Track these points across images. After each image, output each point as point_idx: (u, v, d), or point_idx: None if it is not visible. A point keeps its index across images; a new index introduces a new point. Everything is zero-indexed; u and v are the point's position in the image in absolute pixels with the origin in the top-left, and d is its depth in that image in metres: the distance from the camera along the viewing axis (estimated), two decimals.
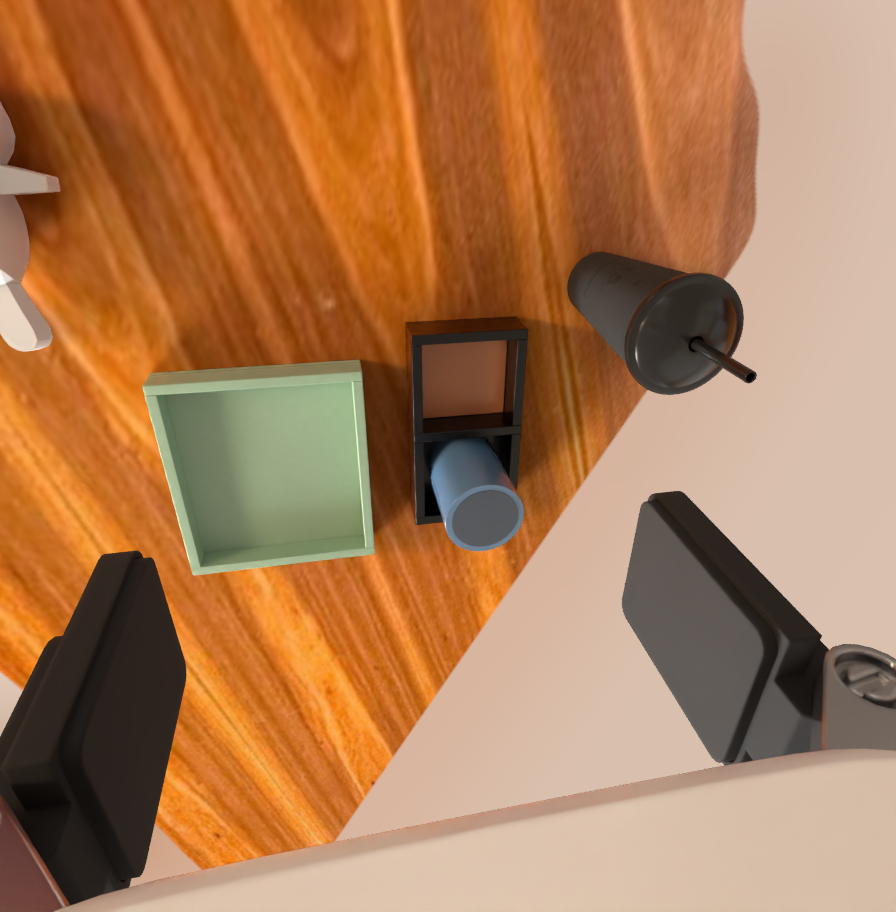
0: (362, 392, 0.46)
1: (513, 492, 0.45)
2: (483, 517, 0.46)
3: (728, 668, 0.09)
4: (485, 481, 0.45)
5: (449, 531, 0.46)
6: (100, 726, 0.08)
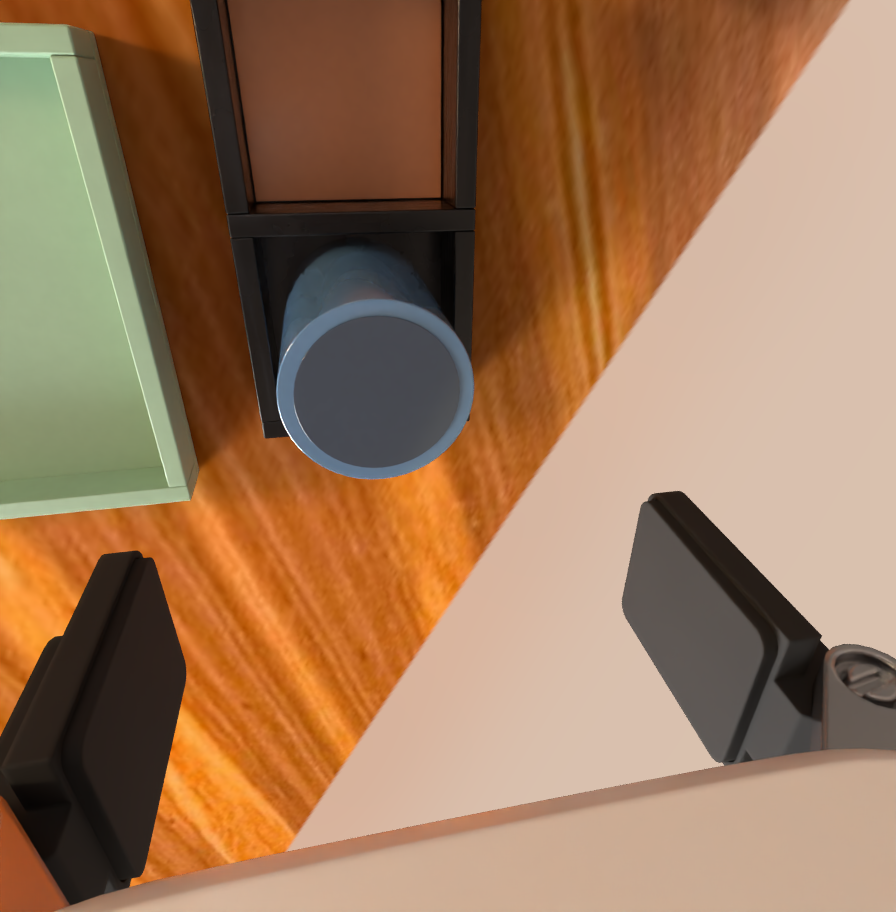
0: (83, 91, 0.19)
1: (445, 325, 0.18)
2: (373, 392, 0.19)
3: (728, 668, 0.09)
4: (371, 294, 0.18)
5: (291, 426, 0.19)
6: (100, 726, 0.08)
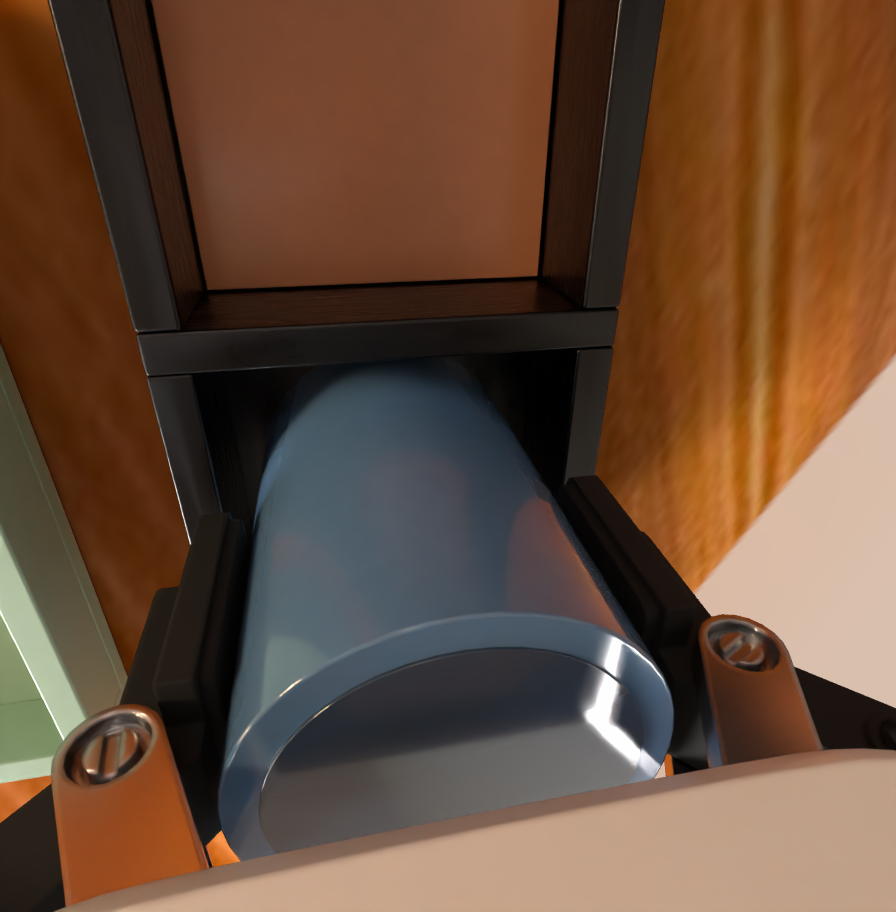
0: None
1: (631, 648, 0.07)
2: (450, 780, 0.08)
3: None
4: (456, 590, 0.07)
5: None
6: (223, 657, 0.09)
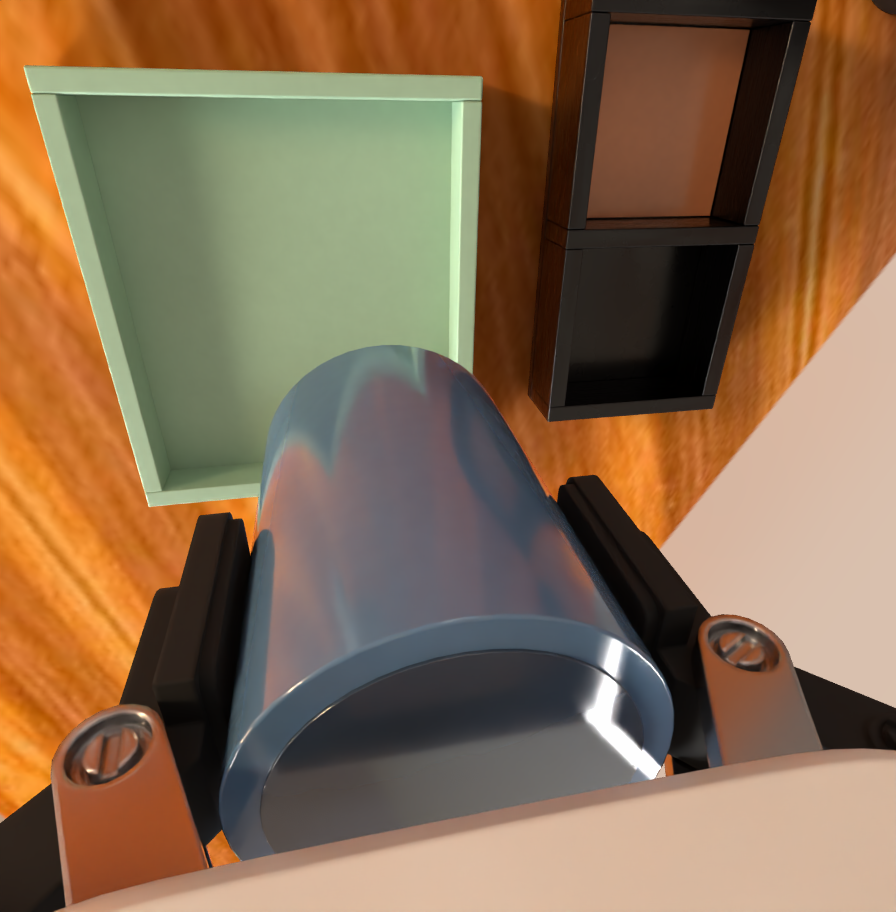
0: (479, 128, 0.23)
1: (631, 650, 0.07)
2: (451, 781, 0.08)
3: None
4: (458, 593, 0.07)
5: None
6: (223, 657, 0.09)
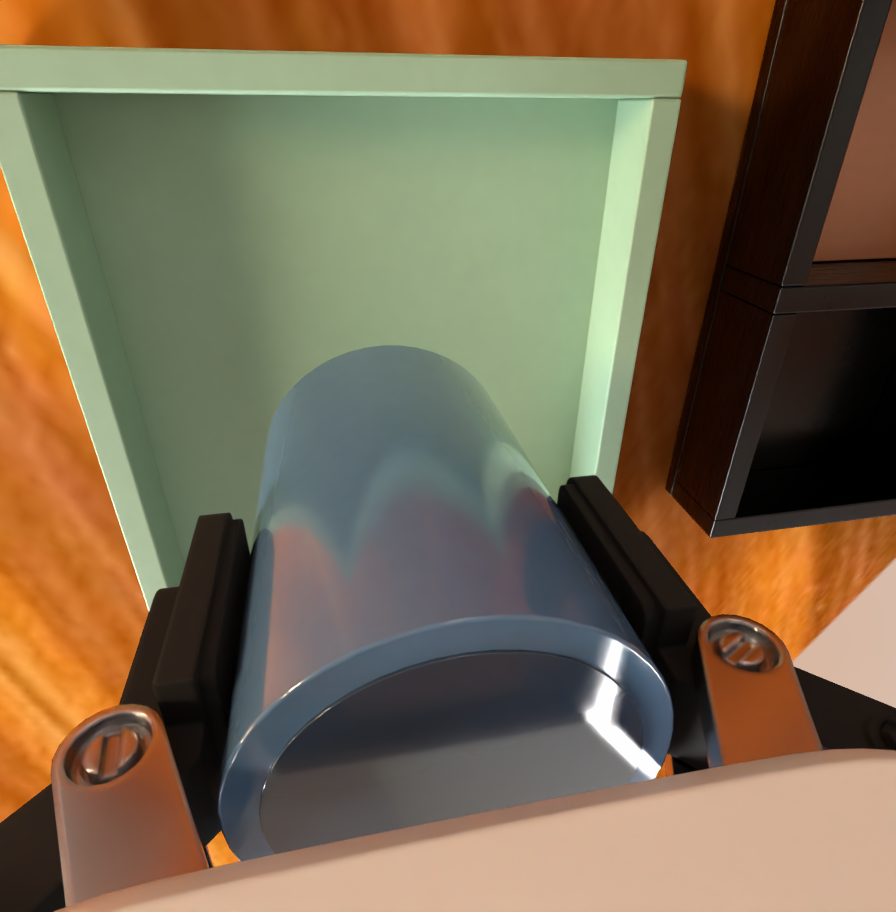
0: (672, 141, 0.15)
1: (631, 650, 0.07)
2: (450, 782, 0.08)
3: None
4: (457, 594, 0.07)
5: None
6: (223, 657, 0.09)
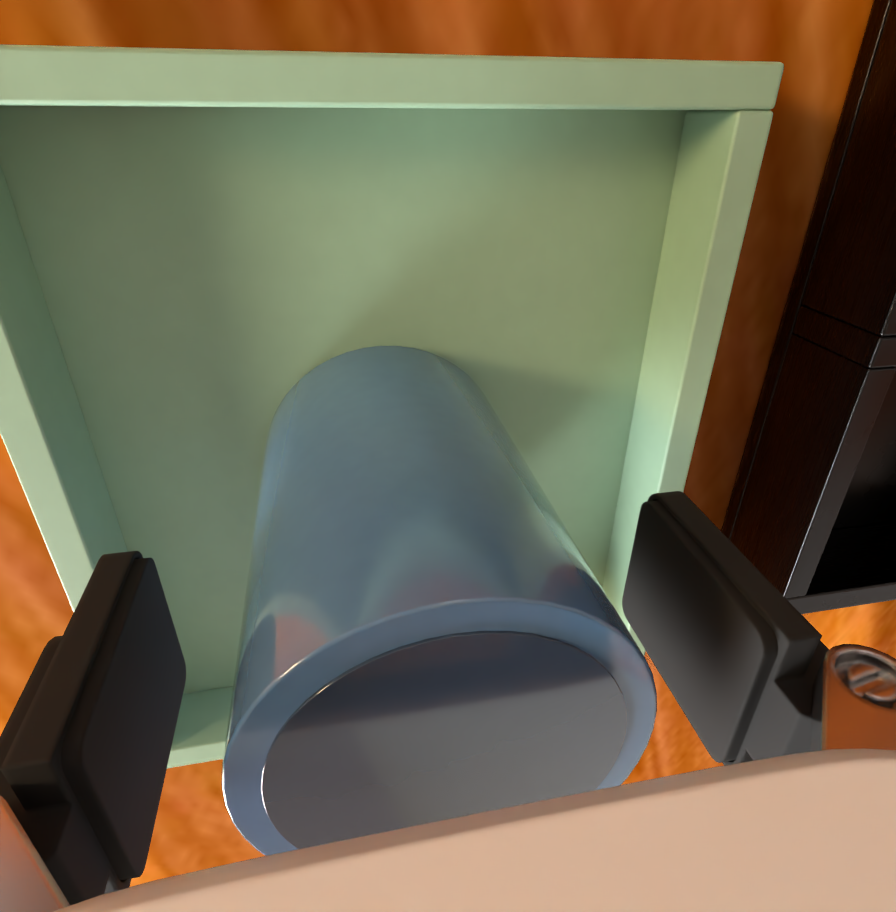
0: (759, 163, 0.12)
1: (613, 633, 0.08)
2: (442, 760, 0.08)
3: (728, 668, 0.09)
4: (448, 578, 0.07)
5: (259, 835, 0.08)
6: (100, 726, 0.08)
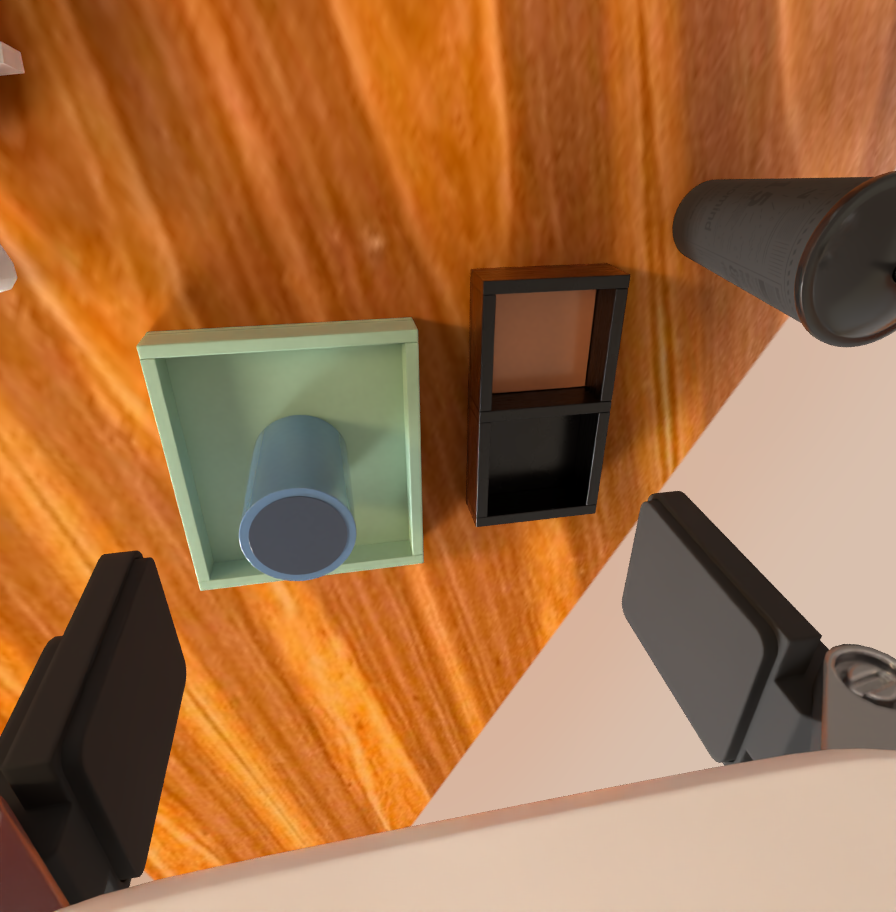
0: (417, 357, 0.36)
1: (334, 498, 0.32)
2: (295, 534, 0.32)
3: (728, 668, 0.09)
4: (291, 484, 0.31)
5: (248, 554, 0.32)
6: (100, 726, 0.08)
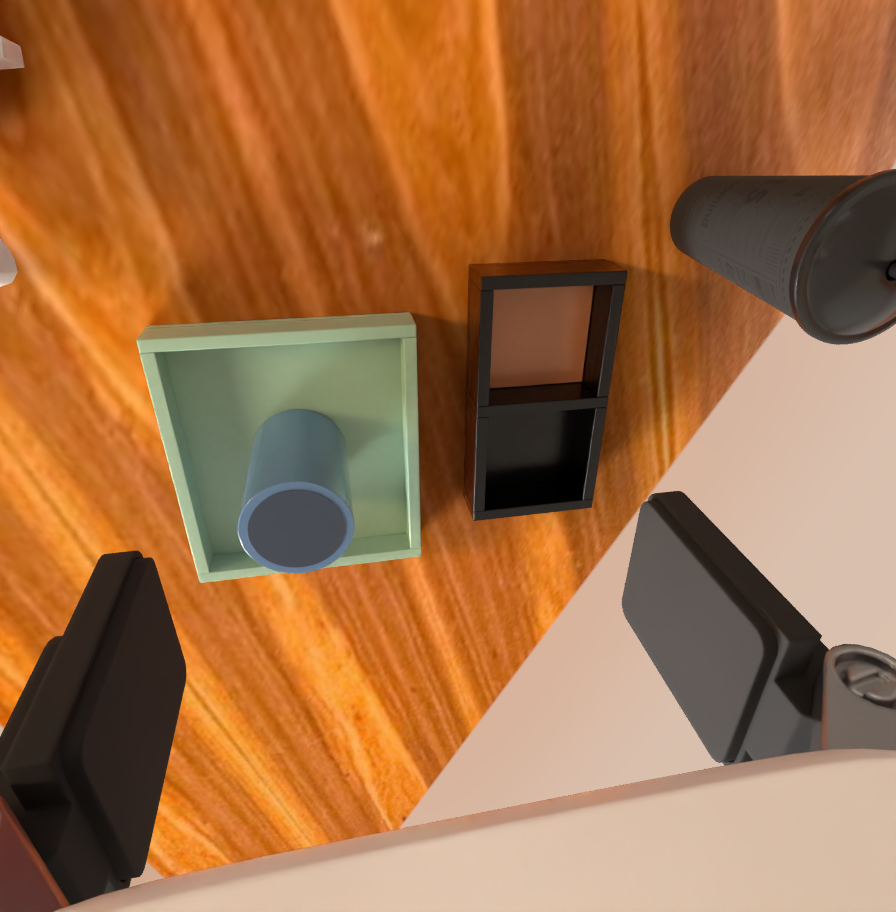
0: (415, 352, 0.37)
1: (333, 492, 0.32)
2: (294, 527, 0.33)
3: (728, 668, 0.09)
4: (290, 477, 0.32)
5: (247, 547, 0.33)
6: (100, 726, 0.08)
